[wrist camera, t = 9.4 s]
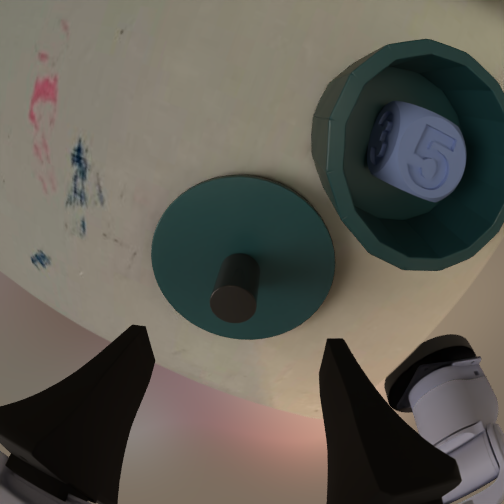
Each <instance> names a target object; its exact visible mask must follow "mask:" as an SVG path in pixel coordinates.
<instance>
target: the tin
mask: <svg viewBox="0 0 504 504" xmlns="http://www.w3.org/2000/svg"><path fill="white" fill-rule="evenodd" d="M392 101H402V102H406V103H410V104H413V105H417V106H419V107H422V108H425V109H427V110H430V111H432V112H434V113H436V114H438V115H440V116H442V117H444V118H446V119H448V120H449V121H451V122H453V123H454V124H455V125H457V126H458V127H459V129H460V131H461V133H462V135H463V138H464V141H465V146H466V165H465V170H464V173H463V176H462V178H461V180H460V182H459V184H458V185H457V187H456V188H455V189H454V191H453V192H452V193H451V194H449V195H448V196H447V197H445V198H444V199H442V200H440V201H438V202H431V201H428V200H425V199H422V198H420V197H417V196H415V195H412V194H410V193H408V192H405V191H403V190H401V189H399V188H397V187H394V186H392V185H390V184H388V183H386V182H384V181H382V180H380V179H378V178H377V177H375V176H373V175H372V174H371V172H370V170H369V168H368V164H367V150H368V144H369V139H370V135H371V132H372V129H373V126H374V123H375V121H376V119H377V117H378V115H379V113H380V112H381V110H382V109H383V107H384V106H385V105H386V104H388V103H389V102H392ZM311 142H312V157H313V160H314V163H315V166H316V169H317V172H318V174H319V177H320V180H321V183H322V186H323V188H324V190H325V192H326V193H327V195H328V197H329V199H330V200H331V202H332V204H333V206H334V208H335V209H336V211H337V213H338V215H339V217H340V218H341V220H342V222H343V223H344V224H345V225H346V226H347V228H348V229H349V230H350V231H351V232H352V233H353V235H354V236H355V237H356V238H357V240H358V241H359V242H360V243H361V244H362V246H363V247H364V248H365V249H366V251H367V252H368V253H370V254H371V255H373V256H375V257H378V258H380V259H382V260H384V261H386V262H388V263H390V264H392V265H394V266H396V267H398V268H400V269H402V270H419V271H438V270H439V271H440V270H443V269H445V268H448V267H450V266H453V265H455V264H458V263H460V262H462V261H465V260H467V259H470V258H471V257H473V256H474V255H475V254H476V253H477V252H478V251H479V250H480V249H481V248H483V247H484V246H485V245H486V244H487V243H488V242H489V241H490V240H491V239H492V238H493V237H494V236H495V235H496V234H497V232H499V230H500V228H501V226H502V224H503V223H504V93H503V91H502V89H501V87H500V85H499V83H498V82H497V81H496V80H495V79H494V78H493V77H492V76H491V75H490V74H489V73H488V72H487V71H486V70H485V69H484V68H483V67H482V66H481V65H480V64H479V63H478V62H477V61H476V60H475V59H474V58H472V57H471V56H470V55H469V54H467V53H466V52H464V51H461V50H459V49H456V48H453V47H451V46H448V45H445V44H442V43H439V42H437V41H434V40H430V39H421V40H413V41H406V42H400V43H393V44H388V45H386V46H383V47H382V48H380V49H378V50H376V51H374V52H372V53H370V54H369V55H367V56H365V57H363V58H361V59H360V60H358V61H356V62H354V63H353V64H352V65H351V66H349V67H348V68H347V69H346V70H344V71H343V72H342V73H340V74H339V75H338V76H337V77H336V78H335V79H333V80H332V81H331V82H330V83H329V84H328V86H327V88H326V90H325V91H324V93H323V95H322V97H321V99H320V100H319V103H318V106H317V108H316V111H315V113H314V117H313V123H312V133H311Z"/></svg>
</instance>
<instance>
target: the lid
mask: <svg viewBox="0 0 504 504" xmlns="http://www.w3.org/2000/svg"><path fill="white" fill-rule="evenodd" d="M151 258H152V267H153V271H154V275H155V278H156V280H157V283H158V286H159V287H160V289H161V291H162V293H163V295H164V296H165V298H166V299H167V300H168V302H169V303H170V304H171V305H172V306H173V308H174V309H175V310H176V311H177V312H178V313H180V314H181V315H182V316H183V317H184V318H185V319H187V320H188V321H190V322H191V323H192V324H194V325H196V326H198V327H200V328H201V329H204V330H206V331H208V332H210V333H213V334H216V335H219V336H223V337H228V338H234V339H248V340H253V339H263V338H268V337H273V336H276V335H280V334H283V333H285V332H287V331H290V330H292V329H294V328H295V327H297V326H299V325H301V324H302V323H303V322H305V321H306V320H307V319H309V318H310V317H311V316H312V315H313V314H314V313H315V312H316V311H317V310H318V308H319V307H320V306H321V304H322V303H323V301H324V300H325V298H326V296H327V295H328V292H329V290H330V287H331V285H332V281H333V277H334V272H335V252H334V248H333V243H332V240H331V237H330V234H329V232H328V229H327V227H326V225H325V223H324V222H323V220H322V218H321V216H320V215H319V214H318V213H317V211H316V210H315V209H314V208H313V206H312V205H310V204H309V203H308V202H307V201H306V200H305V199H304V198H303V197H302V196H300V195H299V194H297V193H296V192H295V191H293V190H292V189H290V188H288V187H286V186H284V185H282V184H280V183H277V182H275V181H272V180H269V179H266V178H261V177H257V176H249V175H228V176H222V177H217V178H212V179H209V180H206V181H204V182H201V183H199V184H197V185H195V186H193V187H191V188H189V189H188V190H187V191H185V192H184V193H182V194H181V195H180V196H179V197H178V198H177V199H176V200H175V201H174V202H173V203H171V204H170V205H169V207H168V208H167V209H166V211H165V212H164V213H163V215H162V217H161V219H160V220H159V222H158V224H157V227H156V230H155V232H154V236H153V241H152V250H151Z"/></svg>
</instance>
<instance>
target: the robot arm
mask: <svg viewBox="0 0 504 504" xmlns="http://www.w3.org/2000/svg"><path fill="white" fill-rule="evenodd" d="M481 359H482V358H481V357H480V356H477V357H472V358H466V359H459V360H453V361H446V362H438V363H431V364H422V365H420V366H419V367H418V368H417V370H416V372H415V374H414V376H413V378H412V380H411V382H410V383H409V385H408V387H407V389H406V390H405V392H404V394H403V396H402V397H401V399H400V401H399V402H398V404H397V409H404V408H410V407H411V408H412V411H413V414H414V418H415V421H416V425H417V428H418V432H419V434H418V433H417V432H416V431H415V430H413V429H412V428H411V427H410V426H409V425H408V424H407V423H406V422H405V421H404V420H403V419H402V418H401V417H399V415H398V414H397V413H396V412H395V411H394V410H393V409H392V408H391V407H390V406H389V405H388V403H387V402H386V401H385V400H384V399H383V397H382V396H381V395H380V394H379V392H378V391H377V390H376V388H375V387H374V386H373V384H372V383H371V382H370V380H369V379H368V377H367V376H366V374H365V373H364V371H363V370H362V369H361V367H360V365H359V364H358V362H357V361H356V359H355V358H354V356H353V354H352V353H351V351H350V349H349V348H348V346H347V344H346V342H345V341H344V340H343V338H337V339H327V342H326V346H325V351H324V355H323V359H322V363H321V367H320V371H319V384H320V399H321V406H322V412H323V419H324V426H325V432H326V439H327V450H328V486H327V487H328V488H327V504H450V503H452V502H454V501H456V500H458V499H460V498H462V497H464V496H466V495H468V494H470V493H472V492H474V491H476V490H477V489H479V488H481V487H483V486H485V485H486V484H488V483H490V482H491V481H493V480H495V479H496V478H497V479H496V481H495V482H494V483H493V484H492V485H491V486H489V487H488V488H486V489H485V490H483V491H481V492H480V493H478V494H476V495H474V496H472V497H470V498H468V499H466V500H464V501H462V502H461V503H458V504H501V503H502V501H503V500H504V434H503V432H502V430H501V428H500V427H499V425H498V424H496V423H495V422H496V420H497V416H498V402H497V398H496V396H495V394H494V392H493V390H492V388H491V386H490V384H489V382H488V380H487V378H486V376H485V374H484V372H483V370H482V369H481V367H480V365H479V363H480V362H481ZM154 363H155V358H154V355H153V351H152V348H151V344H150V341H149V337H148V334H147V330H146V326H139V325H132V326H130V327H129V328H128V329H127V330H126V331H124V332H123V333H122V334H121V335H120V336H119V337H118V338H116V339H115V340H114V341H113V342H112V343H111V344H110V345H108V346H107V347H106V348H105V349H104V350H103V351H102V352H100V353H99V354H98V355H97V356H96V357H94V358H93V359H92V360H90V361H89V362H88V363H86V364H85V365H84V366H83V367H81V368H80V369H79V370H77V371H76V372H74V373H73V374H71V375H70V376H68V377H67V378H65V379H64V380H62V381H60V382H59V383H57V384H55V385H53V386H51V387H49V388H48V389H46V390H44V391H42V392H40V393H38V394H35V395H33V396H31V397H28V398H26V399H23V400H20V401H17V402H15V403H11V404H8V405H4V406H0V443H1V444H2V445H3V446H4V447H5V448H6V449H7V450H8V451H9V452H10V453H11V455H10V456H9V457H8V456H6V455H5V454H4V453H2V452H1V451H0V504H91V503H89V502H87V501H90V502H93V503H98V504H117V503H118V491H119V480H120V474H121V468H122V463H123V457H124V453H125V448H126V444H127V440H128V437H129V433H130V429H131V426H132V423H133V421H134V418H135V416H136V413H137V411H138V408H139V406H140V403H141V401H142V399H143V397H144V394H145V392H146V389H147V387H148V384H149V382H150V378H151V375H152V371H153V367H154Z"/></svg>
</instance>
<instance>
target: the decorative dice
mask: <svg viewBox="0 0 504 504" xmlns="http://www.w3.org/2000/svg"><path fill="white" fill-rule="evenodd" d="M367 164H368V168H369V170H370V172H371V174H372V175H373V176H375V177H377V178H378V179H380V180H382V181H384V182H386V183H388V184H390V185H392V186H394V187H397V188H399V189H401V190H403V191H405V192H408V193H410V194H412V195H415V196H417V197H420V198H422V199H425V200H428V201H431V202H438V201H440V200H442V199H444V198H445V197H447V196H448V195H449V194H451V193H452V192H453V191H454V189H455V188H456V187H457V185H458V184H459V182H460V180H461V178H462V176H463V173H464V170H465V165H466V146H465V141H464V138H463V135H462V133H461V131H460V129H459V127H458V126H457V125H455V124H454V123H453V122H451V121H449V120H448V119H446V118H444V117H442V116H440V115H438V114H436V113H434V112H432V111H430V110H427V109H425V108H422V107H419V106H417V105H413V104H410V103H406V102H402V101H392V102H389V103H388V104H386V105H385V106H384V107H383V109H382V110H381V112H380V113H379V115H378V117H377V119H376V121H375V123H374V126H373V129H372V132H371V135H370V139H369V144H368V150H367Z"/></svg>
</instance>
